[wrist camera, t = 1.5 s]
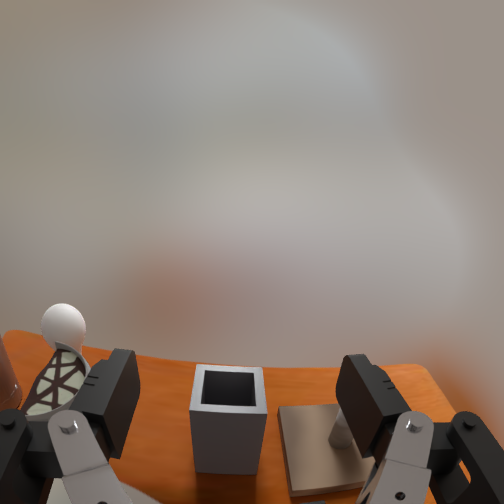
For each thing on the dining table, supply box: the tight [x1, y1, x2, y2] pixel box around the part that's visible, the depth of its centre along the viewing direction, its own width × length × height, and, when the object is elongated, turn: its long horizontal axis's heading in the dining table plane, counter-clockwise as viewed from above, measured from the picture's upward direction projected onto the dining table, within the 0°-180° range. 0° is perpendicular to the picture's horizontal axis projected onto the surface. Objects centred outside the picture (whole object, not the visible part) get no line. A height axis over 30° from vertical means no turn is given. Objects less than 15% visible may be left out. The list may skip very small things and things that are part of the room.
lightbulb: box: [41, 304, 86, 354], centre depth 32 cm, size 6×6×11 cm
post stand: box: [277, 404, 375, 497], centre depth 26 cm, size 12×12×8 cm
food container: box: [20, 341, 91, 421], centre depth 22 cm, size 12×6×10 cm, turn 7°
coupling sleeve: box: [189, 364, 267, 475], centre depth 25 cm, size 6×6×10 cm
